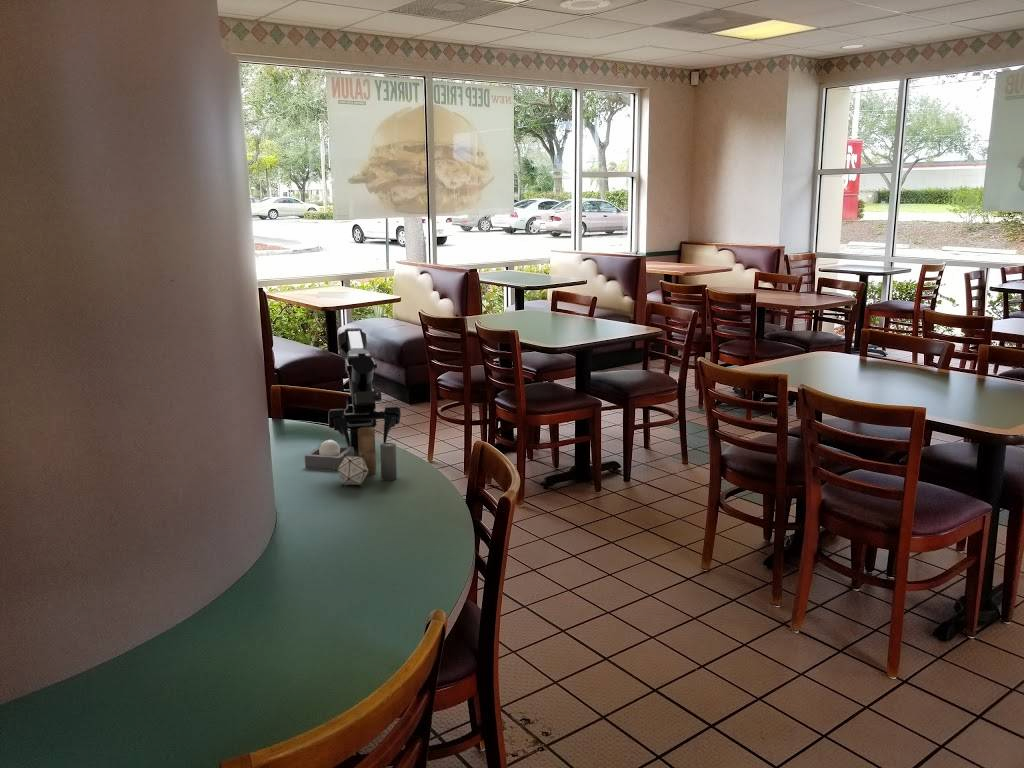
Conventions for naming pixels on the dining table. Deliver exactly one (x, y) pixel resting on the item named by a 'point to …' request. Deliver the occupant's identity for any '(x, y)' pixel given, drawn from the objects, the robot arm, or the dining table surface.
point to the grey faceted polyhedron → (353, 470)
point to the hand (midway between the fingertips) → (367, 444)
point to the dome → (329, 448)
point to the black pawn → (388, 461)
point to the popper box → (327, 458)
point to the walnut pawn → (367, 447)
